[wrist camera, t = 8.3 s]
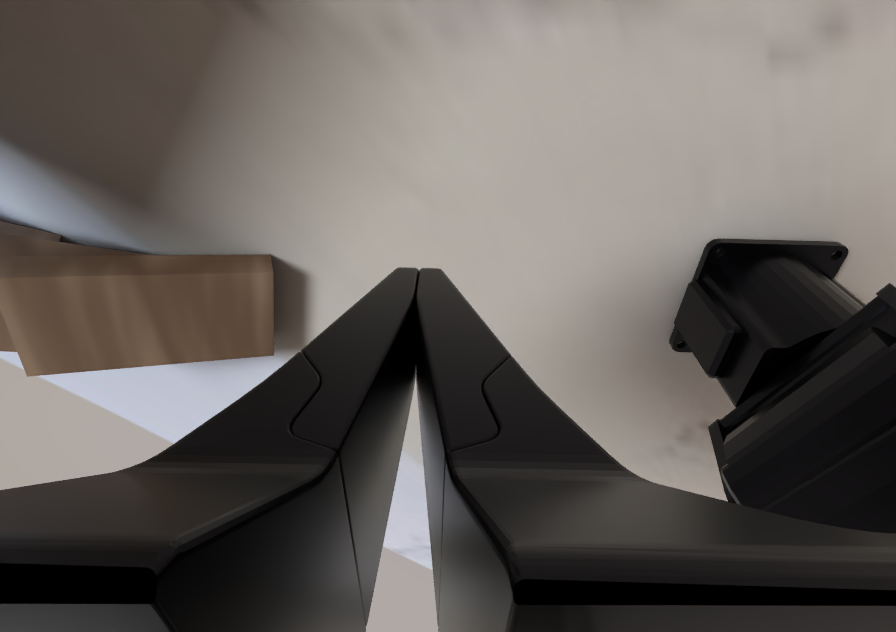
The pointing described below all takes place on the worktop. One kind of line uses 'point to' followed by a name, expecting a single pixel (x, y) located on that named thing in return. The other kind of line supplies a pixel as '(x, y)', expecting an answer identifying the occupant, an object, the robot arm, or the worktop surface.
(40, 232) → the domino
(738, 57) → the worktop surface
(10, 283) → the domino
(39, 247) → the domino
